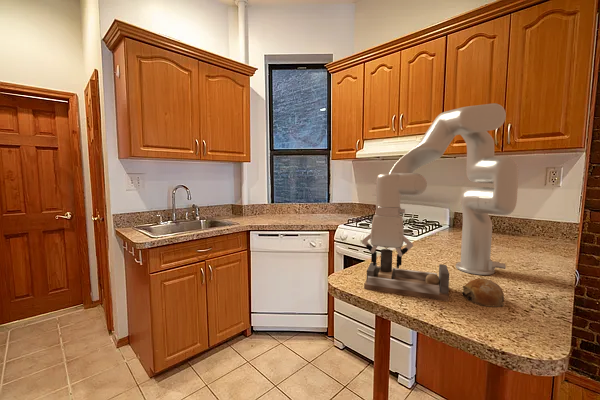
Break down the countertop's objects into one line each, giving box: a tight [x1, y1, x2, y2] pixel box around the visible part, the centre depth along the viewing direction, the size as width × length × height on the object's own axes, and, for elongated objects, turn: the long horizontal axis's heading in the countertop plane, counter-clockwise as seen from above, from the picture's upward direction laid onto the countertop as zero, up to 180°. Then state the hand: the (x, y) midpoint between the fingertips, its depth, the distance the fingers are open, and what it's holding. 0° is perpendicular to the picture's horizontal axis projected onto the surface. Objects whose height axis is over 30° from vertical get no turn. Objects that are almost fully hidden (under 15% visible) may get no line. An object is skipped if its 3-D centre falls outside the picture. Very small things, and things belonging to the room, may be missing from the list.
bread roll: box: [461, 278, 506, 308], centre depth 82 cm, size 10×10×8 cm
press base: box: [363, 262, 450, 302], centre depth 91 cm, size 24×12×8 cm, turn 68°
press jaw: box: [378, 248, 396, 279], centre depth 93 cm, size 5×9×10 cm, turn 158°
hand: (386, 265), depth 93 cm, fingers open, 6 cm apart
